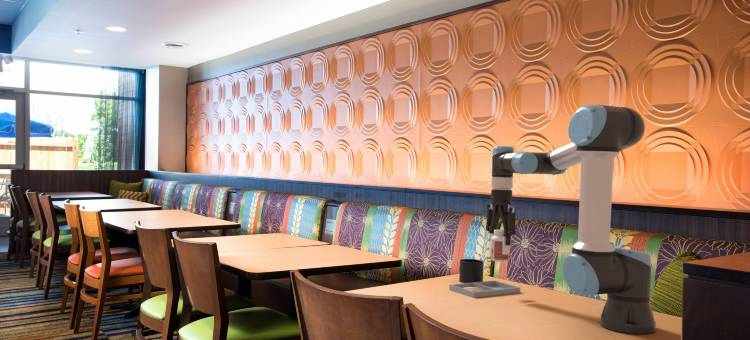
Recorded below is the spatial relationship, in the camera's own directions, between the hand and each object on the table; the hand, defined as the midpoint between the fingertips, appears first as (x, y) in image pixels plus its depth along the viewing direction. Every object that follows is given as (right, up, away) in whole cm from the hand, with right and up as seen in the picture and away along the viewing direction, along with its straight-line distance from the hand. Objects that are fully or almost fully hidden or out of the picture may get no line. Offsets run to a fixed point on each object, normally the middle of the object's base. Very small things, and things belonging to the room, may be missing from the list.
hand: (499, 252), depth 213 cm
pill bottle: (0, -3, 0) cm, 3 cm away
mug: (-7, -16, +24) cm, 30 cm away
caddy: (-4, -16, +5) cm, 17 cm away
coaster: (-9, -15, +3) cm, 18 cm away
